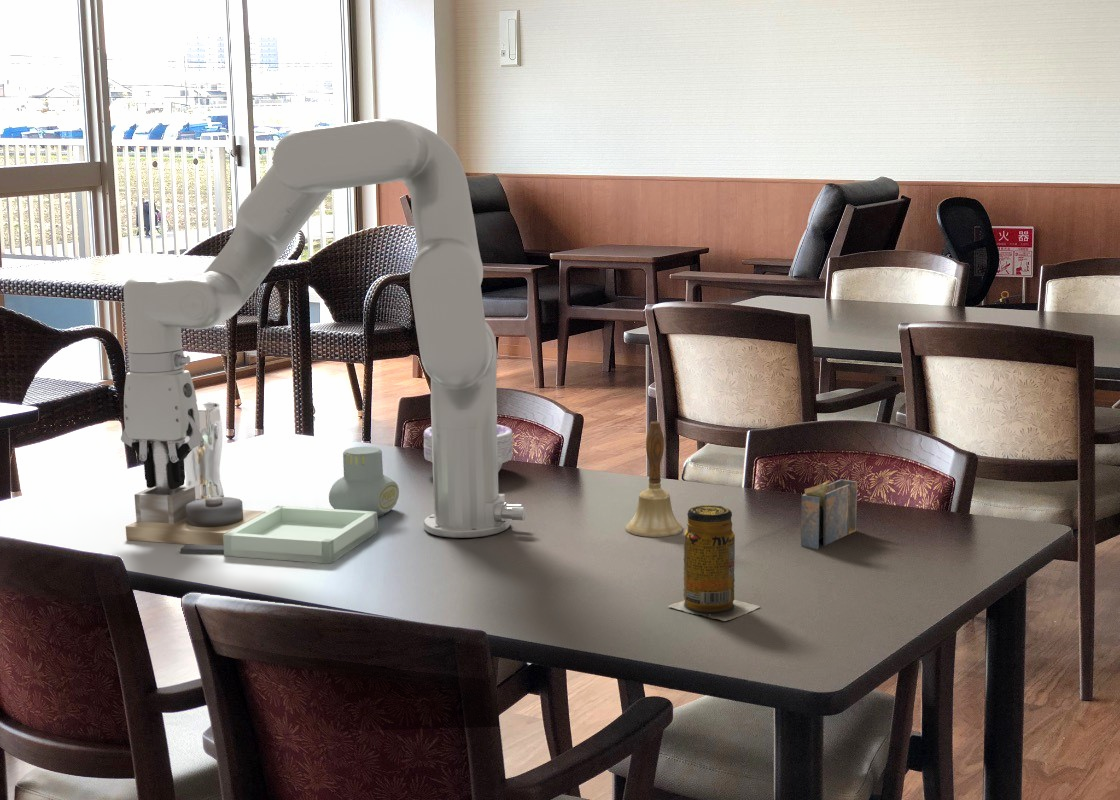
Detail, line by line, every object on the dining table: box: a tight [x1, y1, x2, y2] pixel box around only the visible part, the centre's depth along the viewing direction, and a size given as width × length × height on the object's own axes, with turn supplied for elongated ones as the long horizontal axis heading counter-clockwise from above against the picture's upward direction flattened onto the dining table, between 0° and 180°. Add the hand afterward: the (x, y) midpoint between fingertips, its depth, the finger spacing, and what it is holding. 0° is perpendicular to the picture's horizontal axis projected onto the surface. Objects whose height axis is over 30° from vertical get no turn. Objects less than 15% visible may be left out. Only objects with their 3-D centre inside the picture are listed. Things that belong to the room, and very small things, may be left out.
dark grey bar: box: [179, 544, 224, 555], centre depth 188 cm, size 14×2×1 cm, turn 84°
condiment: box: [667, 504, 761, 622], centre depth 161 cm, size 7×8×12 cm
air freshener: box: [328, 446, 400, 518], centre depth 206 cm, size 11×8×10 cm
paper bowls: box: [423, 423, 514, 473], centre depth 231 cm, size 15×15×8 cm
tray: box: [223, 505, 379, 564], centre depth 191 cm, size 16×16×3 cm
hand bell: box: [625, 420, 684, 538], centre depth 195 cm, size 8×8×16 cm
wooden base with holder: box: [125, 485, 267, 545], centre depth 198 cm, size 16×12×6 cm
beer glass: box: [184, 401, 225, 500], centre depth 218 cm, size 7×7×15 cm
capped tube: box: [152, 439, 177, 495], centre depth 198 cm, size 4×4×13 cm
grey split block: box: [800, 478, 858, 550], centre depth 189 cm, size 11×3×10 cm, turn 141°
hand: (165, 485), depth 199 cm, fingers closed on capped tube, 3 cm apart
